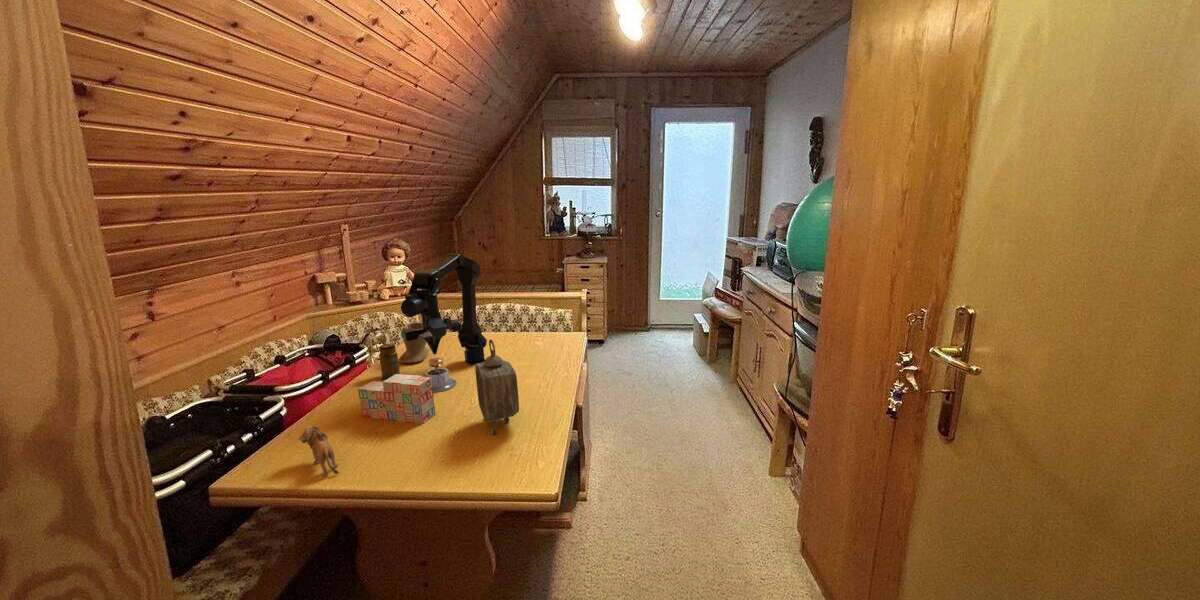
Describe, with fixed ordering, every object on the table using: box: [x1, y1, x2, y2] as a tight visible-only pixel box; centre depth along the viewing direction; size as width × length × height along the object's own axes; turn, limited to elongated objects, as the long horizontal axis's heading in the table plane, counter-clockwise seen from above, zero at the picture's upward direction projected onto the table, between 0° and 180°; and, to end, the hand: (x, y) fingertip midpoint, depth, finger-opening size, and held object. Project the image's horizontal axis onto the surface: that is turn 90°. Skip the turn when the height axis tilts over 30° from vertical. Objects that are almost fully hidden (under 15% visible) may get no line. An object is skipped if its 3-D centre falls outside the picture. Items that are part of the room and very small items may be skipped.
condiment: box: [377, 343, 401, 382], centre depth 172 cm, size 7×8×12 cm
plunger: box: [428, 357, 444, 375], centre depth 163 cm, size 5×5×8 cm
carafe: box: [421, 367, 451, 389], centre depth 163 cm, size 10×8×5 cm
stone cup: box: [398, 321, 431, 364], centre depth 191 cm, size 15×12×15 cm
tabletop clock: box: [474, 338, 520, 435], centre depth 133 cm, size 14×9×25 cm, turn 23°
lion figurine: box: [298, 425, 340, 478], centre depth 116 cm, size 15×5×9 cm, turn 53°
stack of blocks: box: [357, 373, 436, 425], centre depth 141 cm, size 21×6×12 cm, turn 75°
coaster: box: [433, 377, 457, 394], centre depth 164 cm, size 12×12×1 cm
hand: (434, 354), depth 162 cm, fingers closed
